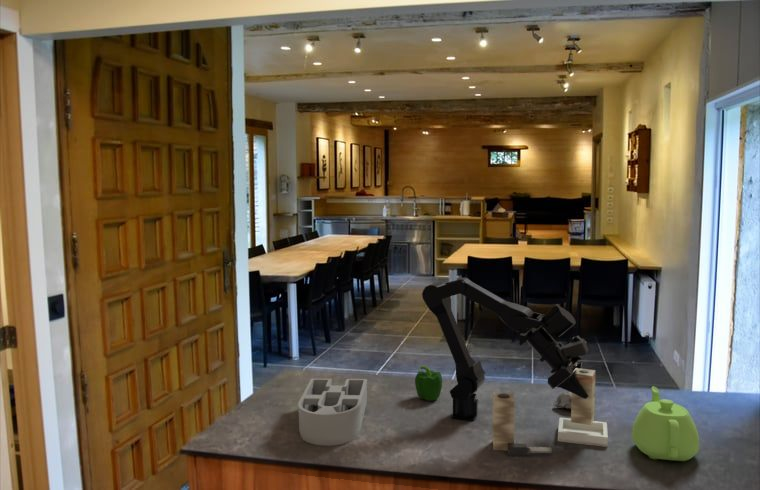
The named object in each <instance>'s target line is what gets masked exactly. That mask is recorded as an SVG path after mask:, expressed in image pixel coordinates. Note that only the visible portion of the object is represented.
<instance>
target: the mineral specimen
mask: <svg viewBox="0 0 760 490" xmlns="http://www.w3.org/2000/svg"><path fill="white" fill-rule="evenodd" d="M571 397H572V392H569V391H566V392H562V393H559V394H558V396H557V398H556V399H555V400H554V403H553V407H555V408H556V409H562V408H566V409H569V410H571Z"/></svg>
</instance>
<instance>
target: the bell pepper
mask: <svg viewBox="0 0 760 490" xmlns="http://www.w3.org/2000/svg"><path fill="white" fill-rule="evenodd" d="M419 368H420V370H421V371H418V372H417V373H416V376H415V378H414V385H415V389H416V393H417V397H418V398H419V399H422V400H425V401H427V402H429V401H432V402H433V401H436V400H438V398H439V397H440V395H441V391H442V388H443V377H442V374H441V371H434V370H431V369H430V368H429V367H428V366H426V365H420V367H419ZM422 370H424V371H425V372H424V371H422Z"/></svg>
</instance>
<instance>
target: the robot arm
mask: <svg viewBox="0 0 760 490" xmlns="http://www.w3.org/2000/svg"><path fill="white" fill-rule="evenodd" d="M459 294H460V295H462V296H464V297H466V298H468V299H470V300H471V301H472V302H474V303H476V304H478V305H480V306H481V307H483V308H484V309H487V310H488V311H490V312H492V313H493V314H495V315H496V316H498V317H499V318H500V320H501V321H502V322H503V323H504V324H505V325H506V326H507V327H509V328H510V329H511V330H512V331H514V332H516V333H520V334H519V335H518V336H519V342H518V344H519V346H522V345H524V344H525V343H526V342H527V343H528V345H529V346H530V347H531V348H532V349H533V350H534V351H535V352H536V353H537V354H538V355H539V357H540V358H539V361H540V362H541V363H543V362H544V363H545V364H546V365H547V366H548V367H549V368H550V373H551V374H549V377H547V385H549V387H550V388H551V389H552V390H554V389H555V388H560V389H562V390H565V391H566V392H572V393H574V394H576V395H578V396H580V397H582V398H584V399H586V398H587V397H588V395H587V393H586V391H585V390H584V388H583V387H582V386H581V384H580V383H579V381H578V380H577V378H576V374H577V371H576V370H575V368H581V369H583V358H584V356H585V355H587V354H588V352H589V348H588V346H587V341H586V340H585V338H582V337H580V335H576V336H573V337H572V338H571V342H569V343H568V344H565V345H564V344H563V342H561V341H558V342H557V341H556V340H555V339H554V337H557V338H560V337H561V336H562V335H564V334H565V333H566V332H567V331H568V330H570V329H571V328H572V327H573V326H574V325H575V324H577V323H576V319H575V318H574V316H573V315H572V313H570V311H568V310H567V309H565V308H564V307H562V306H561V305H559V304H558V303H557V304H555V305H554V306H553V307H552V308H551V309H550V310H549V311H548V312H547V313H546V314H543V313H539V312H535V311H533V310H532V309H531V308H529V307H527V306H525V305H521V304H519V303H515V302H510V301H507V300H505V299H504V298H502V297H500V296H498V295H496V294H495V293H493V292H491V291H489V290H487V289H485V288H483V287H482V286H480V285H478V284H476V283H475V282H473V281H472V280H470V279H469V278H468V277H461V278H458V279H456V280H452V281H449V282H445V283H444V282H441V281H436V282H433V283H431V284H429V285H426V286H425V287H424V289H423V290H422V293H421V296H422V300H423V301H424V303H425V305H426V307H427V308H428V310H429V311H430V312H431V313H432V314H433V315H434V316H435V317H436V320H437V322H438V324H439V327H440V328H441V331H442V333H443V336H444V339H445V342H446V343H447V346H448V348H449V350H450V354H451V356H452V358H453V361H454V364H455V376H456V377H455V378H456V382H457V384H456V385H455V386H454V387H453V388H451V389H450V390H449V393H450V396H451V398H452V414H451V415H450V416H451V419H455V420H456V419H457V420H463V421H464V420H466V421H475V419H476V417H478V415H479V399H477V393H476V392H477V391H478V389H480V387H482V386H483V384H484V382H485V381H486V379H485V378H486V377H485V375H486V372H485V370H484V369H483V367H482V362H481V360H477V361H475V359H473V358H472V357H471V355H470V352H469V350H468V347H467V345H466V342H465V341H464V340H465V339H464V337H463V334H462V333H461V332H462V331H461V330H460V327H459V326H458V323H457V320H456V318H455V316H454V313H453V311H452V298H451V297H453V296H456V295H459ZM539 325H540V326H539ZM538 326H539V327H538ZM537 327H538V328H537ZM528 329H529V330H528ZM527 330H528V331H527ZM526 331H527V332H526ZM522 332H526V333H522ZM578 361H579V362H578ZM574 370H575V371H574ZM573 371H574V372H573Z"/></svg>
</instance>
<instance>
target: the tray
mask: <svg viewBox="0 0 760 490" xmlns="http://www.w3.org/2000/svg"><path fill="white" fill-rule="evenodd" d="M607 423H608V422H605V421H596V420H593V422H592V424H591V425H586V424H580V423H573V422H571V417H570V418H569V417H559V420H558V431H557V442H562V443H571V444H577V445H578V444H579V445H588V446H595V447H596V446H597V447H604V448H608V444H609V443H608V442H609V441H608V439H609V436H608V435H609V434H608V424H607Z"/></svg>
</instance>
